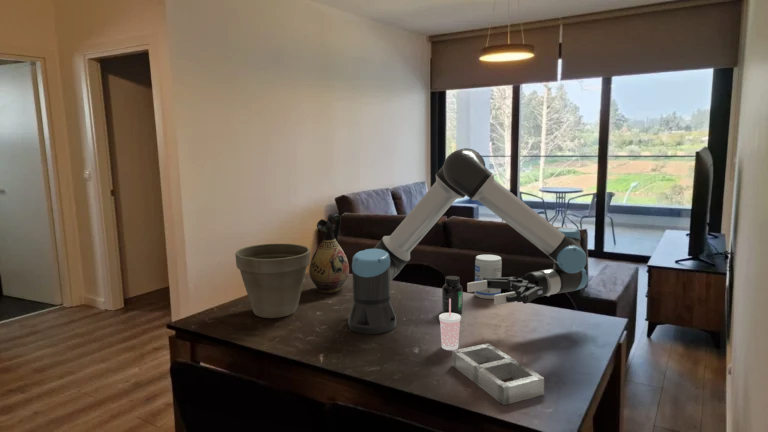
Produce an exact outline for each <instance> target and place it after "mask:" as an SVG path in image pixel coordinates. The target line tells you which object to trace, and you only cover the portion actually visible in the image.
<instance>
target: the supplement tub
mask: <svg viewBox="0 0 768 432" xmlns="http://www.w3.org/2000/svg"><path fill="white" fill-rule="evenodd" d="M502 264H503V263H502V257H501V256H499V255H495V254H480V255H479V254H478V255H476V256H475V261H474V282H477V281H483V278H495V277H502V269H503V268H502V267H503V266H502ZM501 292H502V289H494V288H487V290H481V291H475V292H474V295H475V297H478V298H481V299H484V300H485V299H486V300H487V299H488V300H494V295H497V294H502V293H501Z"/></svg>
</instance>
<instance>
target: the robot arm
mask: <svg viewBox="0 0 768 432" xmlns="http://www.w3.org/2000/svg"><path fill="white" fill-rule="evenodd" d="M494 176H495V174H494V173H493V172H492V171H490V170H489V169H488V168H487V167H486V162H485V159H484V158H483V156H482V155H481V154H480V152H478V151H477V150H475V149H473V148H468V147H465V148H460V149H458V150H457V149H456V150H455V151H452V152H450V153H449V154H448V155H447V157H446V158H445V160H444V162H443V165H442V167H441V168H440V169H439V170H438V171H437V172H436V173H435V182H434V183H433V185H431V187H430V188H429V189H428V191H427V192H426V193H425V194H424V195H423V197H422V198H421V199H420V200H419V201H418V202H417V203H416V204H415V205H414V206H413V208H412V210H411V211H410V212H409V213H408V214H407V215H406V216H405V217H404V219H403V220H402V221H401V222H400V224H399V225H398V226H397V227H396V228H395V230H394V231H393V232H392V233H391V234H390V235H384V236H383V237H382V238H381V239H379V241H378V243H377V244H376V245H375V246H374V247H373V248H366V249H364V250H360V251H358V252H356V253H355V254H353V256H352V260H351V261H352V263H351V270H352V272H351V273H352V295H353V296H352V297H353V299H352V306H351V310H350V313H349V316H348V319H347V320H348V321H347V322H348V328H349V329H350V330H351V331H353V332H355V333H358V334H365V335H374V334H375V335H377V334H383V333H387V332H390V331H392V330H394V329H395V328H396V327H397V316H396V313H395V310H394V308H393V305H392V302H391V301H392V300H391V281H393V280H394V278H396V277H397V276H398V275H399V274H400V272H401V270H402V269H403V268H404V267H405V266H406V265H407V263H408V262H409V261H410V259H411V252H412V250H414V248H415V247H416V246H418V244H419V243H420V242H421V241H422V239H423V238H424V237H425V236H426V235H427V233H429V231H431V229H432V228H433V227H434V226H435V224H437V222H438V221H439V220H440V218H441V217H442V216H444V214H445V213H446V212H447V210H448V209H449V208H450V207H451V206H452V205H453V204H454V202H455V201H456V200H458V199H464V198H465V197H467V198H469V199H470V200H471V201H478V202H479V203H480V204H482V206H483V205H484V206H485V207H486V208H487V209H488V210H489V211H491V212H492V213H493V214H495V215H496V216H497V217H499V218H500V220H502V221H503V222H505V223H506V224H507V225H509V226H510V227H511V228H513V229H514V230H515V231H516V232H517V233H519V234H520V235H521V236H523V238H526V240H528V241H529V242H530V243H531V244H533V246H535V247H536V248H538V249H539V250H540V251H542V252H543V253H544V254H546V255H547V256H548V257H549V258H550V259H551V260H552V261H553V268H549V269H542V270H538V271H531V272H527V273H526V274H525V275H524V276H523V278H518V277H517V278H516V276H508V277H506V276H505V277H502V276H501V277H495V278H483V281H477V282H475V281H471V282H467V284H466V287H467V288H466V289H467V290H466V291H467V293H475V291H481V290H487V288H494V289H501V290H507V291H509V292H505V293H504V292H503V293H501V294H497V295H494V299H493V305H494V306H501V305H505V304H511V303H515V302H516V303H521V302H522V304H528V303H529V302H533V301H534V300H535V299H537V298H540V297H544V296H545V297H546V296H547V297H550V296H551V295H555V294H556V295H557V294H561V293H568V292H574V291H578V290H581V289H584V288H585V287H586V285H588V281H589V276H588V275H587V270H586V269H585V267H586V265H587V254H586V252H585V250H584V249H583V248H582V246H581V239H582V238H581V232H580V230H579V229H577V228H573V227H561V228H559V227H557V228H556V226H554V225H553V224H551V222H549V221H548V220H546V219H545V218H544V217H543V216H542V215H540V214H539V213H537V212H536V210H534V209H533V208H531V207H530V206H529V205H527V204H526V203H525V202H524V201H523V200H521V199H520V198H519V197H517V196H516V195H515V194H513V192H511V191H510V190H508V188H506V187H505V186H503V184H501V183H500V182H498V181H497V180H496V179H495V177H494Z"/></svg>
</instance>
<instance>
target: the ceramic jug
mask: <svg viewBox="0 0 768 432" xmlns="http://www.w3.org/2000/svg"><path fill="white" fill-rule="evenodd" d="M334 220H335V223H334ZM341 224H342V218H341V215H340V214H338V213H331V214H329V216H328V218H327V220H325V219H324V218H323V219H322V218H321V219H319V220H318V221H317V223H316V227H317V229H318V230H320V231H323V232H324V233H325V236H324V237H323V239H322V241H321V243H320V244H318V247H317V248H316V250H315V252H314V253H313V255H312V258H311V259H310V263H309V273H308V274H309V277H310V280H311V281H312V283H313V285H314V286H315V287H316V291H317V292H318V293H321V294H322V293H324V294H332V293H336V292H340V291H341V290H342V289H341V288H342V287H343V285H344V284H345V282H346V280H348V278H349V274H350V266H349V261H348V258H347V255H346V254H345V252H344V250H343V249H342V246H340V244H339V243H338V242H339V239H338V238H339V237H338V236H339V235H340V234H339V233H340V229H341Z"/></svg>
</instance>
